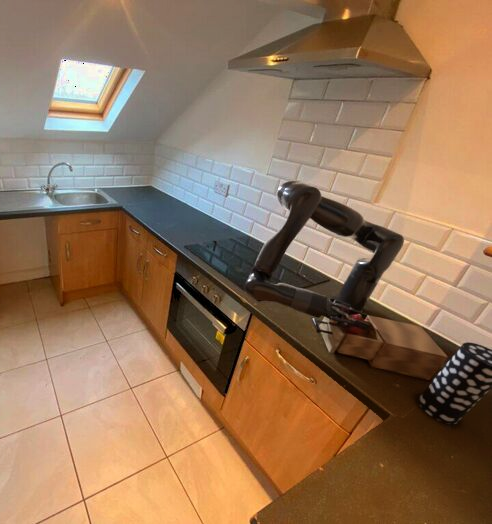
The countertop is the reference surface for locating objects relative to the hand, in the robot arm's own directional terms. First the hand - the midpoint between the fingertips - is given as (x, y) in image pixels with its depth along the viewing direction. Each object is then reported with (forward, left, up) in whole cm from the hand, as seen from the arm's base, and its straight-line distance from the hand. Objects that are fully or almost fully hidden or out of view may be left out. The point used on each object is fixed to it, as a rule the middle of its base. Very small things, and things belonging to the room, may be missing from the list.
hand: (366, 322), depth 92 cm
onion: (-1, -3, -6) cm, 7 cm away
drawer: (-1, -3, -10) cm, 11 cm away
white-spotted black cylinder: (+17, +16, -12) cm, 26 cm away
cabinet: (-1, +12, -11) cm, 16 cm away
